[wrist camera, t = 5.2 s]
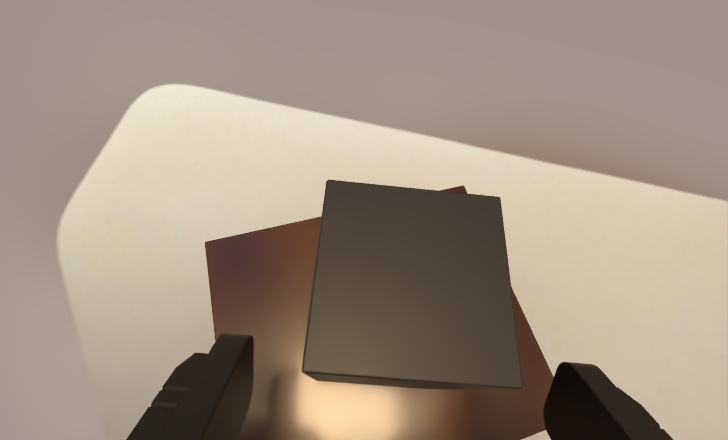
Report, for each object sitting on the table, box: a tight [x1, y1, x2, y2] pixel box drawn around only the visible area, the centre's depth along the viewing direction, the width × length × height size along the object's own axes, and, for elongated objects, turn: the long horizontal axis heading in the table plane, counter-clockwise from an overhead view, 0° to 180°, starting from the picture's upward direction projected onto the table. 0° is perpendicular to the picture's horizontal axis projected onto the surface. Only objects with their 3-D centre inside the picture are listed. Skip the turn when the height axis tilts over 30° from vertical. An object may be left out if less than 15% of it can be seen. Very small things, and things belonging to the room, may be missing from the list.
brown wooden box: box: [205, 186, 554, 440], centre depth 18 cm, size 14×12×5 cm
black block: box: [301, 180, 523, 390], centre depth 12 cm, size 5×5×8 cm
